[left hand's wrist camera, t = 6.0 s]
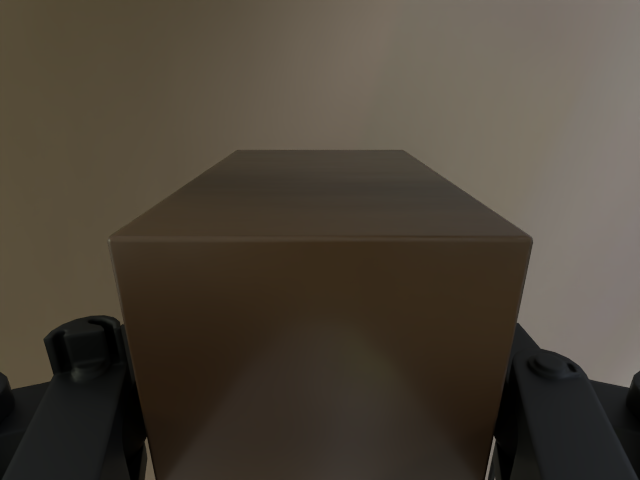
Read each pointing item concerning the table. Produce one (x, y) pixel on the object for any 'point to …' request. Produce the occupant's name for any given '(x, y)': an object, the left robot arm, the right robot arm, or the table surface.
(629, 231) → the table surface
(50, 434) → the left robot arm
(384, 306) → the bar
